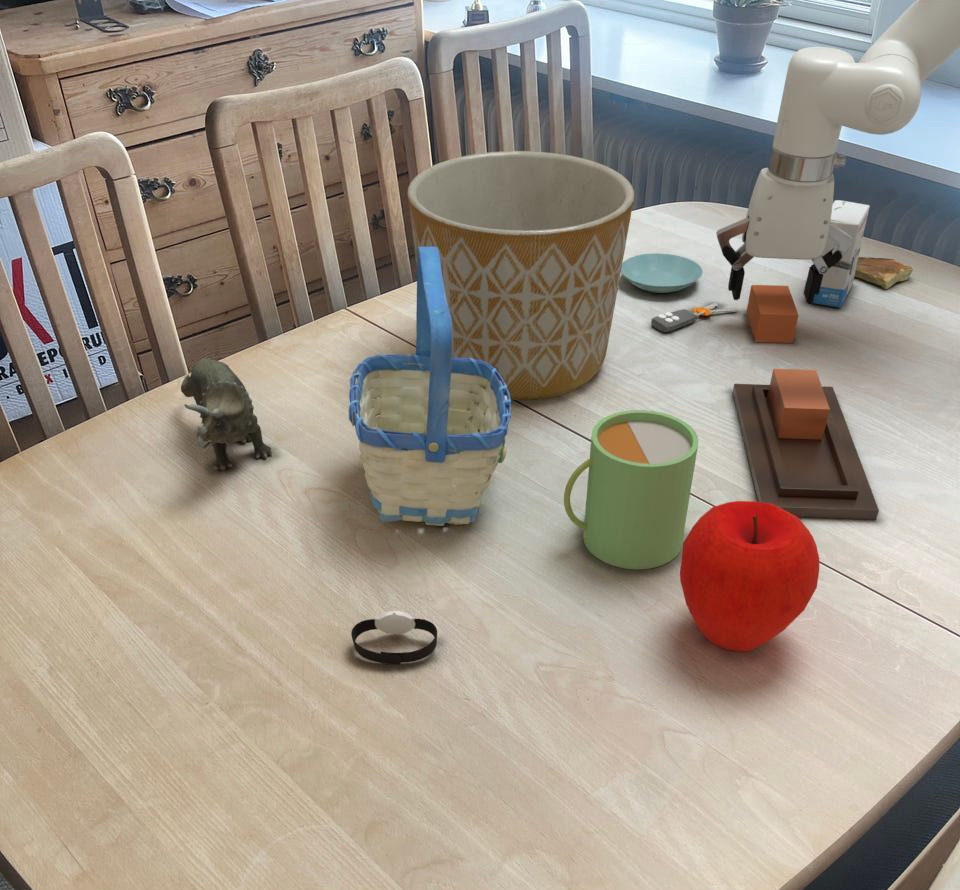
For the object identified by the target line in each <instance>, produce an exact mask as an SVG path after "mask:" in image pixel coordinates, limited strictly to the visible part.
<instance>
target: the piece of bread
mask: <svg viewBox="0 0 960 890" xmlns="http://www.w3.org/2000/svg"><path fill="white" fill-rule="evenodd" d="M913 271H914V267H913V266H911V265H909V264H906V263H903V262H900V261H897V260H895V259H894V258H884V257H883V258H882V257H870V256H869V257H866V256H859V257H858V261H857V266H856V271H855V275H854V278H859V279H861V280H863V281H866V282H868V283H872V284H875V285H877V286H879V287H881V288H883V289H884V290H889V289H890V288H891V287H892V286H894V285H895V284H896V283H899V282H905V281H907V280H909V277H910V276H911V274H912V272H913Z"/></svg>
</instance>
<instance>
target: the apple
mask: <svg viewBox="0 0 960 890" xmlns="http://www.w3.org/2000/svg"><path fill="white" fill-rule="evenodd" d="M681 551H682V552H681V559H680V571H679V578H680V579H679V580H680V586H681V588H682V589H681V590H682V592H683V596H684V600H685V605H686V606H687V608H688V611H689V613H690V615H691V618H692V619H693V621H694V623H695V625H696V626H697V627H698V629H699V630H700V632H701V633H702V635H703V636H704V637H705V638H706V639H707V640H709V642H711V643H712V644H713V645H715V646H717V647H718V648H719V647H720V648H722V649H724V650H727V651H728V650H729V651H735V652H749V651H751V650H753V649H756V648H759V647H760V646H763V645H764V644H766V643H768V642H770V641H771V640H772V639H774V638H775V637H777V636H778V635H779V634H781V633H782V632H784V631H785V630H786V629H787V628H788V627H789V626H790V625H791V624H792V623H793V622H794V621H795V620H796V619H797V618H798V617H799V616H800V615H801V614H802V613H803V612H804V611H805V609H806V608H807V606H808V604H809V602H810V601H811V599H812V597H813V595H814V593H815V592H816V590H817V588H818V582H819V574H820V559H821V558H820V555H819V551H818V545H817V543H816V541H815V539H814V536H813V535H812V533H811V531H810V530H809V528H808V527H807V526H806V525H805V524H804V523H803V522H802V520H801V519H800V517H797V516H795V515H793V514H791V513H789V512H787V511H785V510H783V509H781V508H780V507H778V506H776V505H774V504H770V503H762V502H758V501H753V500H751V501H748V500H747V501H746V500H736V501H735V500H734V501H727V502H724V503H721V504H718V505H715V506H712V507H711V508H710V509H708V510H707V511H706V512H705V513H704V514H703V515H702V516H700V517H699V519H698V520H697V521H696V522H695V523H694V524H693V526H692V527H691V529H690V531H689V533H688V534H687V536H686V538H685V539H684V540H683V542H682V549H681Z"/></svg>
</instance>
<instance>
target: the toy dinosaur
mask: <svg viewBox="0 0 960 890" xmlns="http://www.w3.org/2000/svg"><path fill="white" fill-rule="evenodd" d="M180 391H181V393H182V394H183V395H184V397H186V398H192V397H193V399H194V402H195V404H187V403H184V404H183V405H184V407H185V408H186V409H187V410H191V411H194V412H197V413H198V414H200V415H199V418H201V424H202V426H201V425H198V426H197V427H196V428H197V429H196V430H197V432H196V439H197V445H198V448H199V449H200V450H202V451H207V450H208V449H210V448H211V447H213V450H214V451H213V452H214V454H215V459H216V460H215V462H214V463H213V464H212V466H213V469H214V471H217V470H221V471H225V470H226V468H233V464H232V462H231V460H230V459H229V456H228V453H227V447H228V444H230V445H231V444H234V443H237V442H239V441H240V443H242V444H246V443H247V441H251V442H252V445H253V450H254V456H255V458H256V459H259V458H261V457H262V458H264V459H267V458H268V456H269V455H270V456H271V455H273V451H272V447H270V446H268V445H266V444H265V443H264V441H263V434H262V429H261V426H260V424H258V417H257V415H255V414H254V410H255V406H254V405H253V399H252V398H251V397H250V393H249V392H248V391H247V389H246V387H245V385H244V384H243V382H242V380H241V379H240V378H239V376H238V375H237V374H236V373H234V371H233V370H232V369H231V368H230V366H229V365H228V364H226V363H225V362H223V361H221V360H216V359H212V358H203V357H202V358H201V359H199V360H198V361H197V362H195V364H193V366H192V369H191V372H190V375H189V374H187V375H185V377H184V379H182V383H181V385H180Z"/></svg>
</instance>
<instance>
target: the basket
mask: <svg viewBox="0 0 960 890" xmlns="http://www.w3.org/2000/svg"><path fill="white" fill-rule="evenodd" d="M415 314H416V315H415V316H416V319H415V320H416V323H415V324H416V325H415V326H416V329H415V330H416V332H415V335H416V336H415V353H411V354H401V353H400V354H399V353H391V354H388V353H386V354H382V353H380V354H376V355H373V356H369V357H366V358H364V359H362V361H361V362H359V363H358V364H357V366H356V367H355V369H354V370H353V372H352V374H351V376H350V378H349V379H350V380H349V385H350V388H349V392H348V393H349V394H348V398H349V404H348V405H349V406H348V420H349V422H350V423H351V426H352V427H354V430H355V434H356V437H357V439H358V441H359V444H358V445H359V451H360V453H361V454H360V456H359V459H360V463H362V467H363V470H364V471H365V472H364V477H365V481H366V484H367V486H368V488H369V493H370V499H371V500H370V501H371V504H372V506H373V507H374V508H375V509H376V511H377V513H378V516H379V517H378V519H379V520H380V521H381V522H398V521H400V520H401V521H403V522H419V523H421V522H424V523H425V525H428V526H439V527H444V526H445V524H451V525H457V526H458V525H469V524H470V523H473V522H475V521H476V519H477V517H478V515H479V512H480V505H481V504H482V501H483V497H484V492H485V491H486V490H487V489H488V488H489V487H490V484H491V480H492V476H493V474H494V472H495V471H496V468H497V466H498V464H502V463H503V462H504V461H505V459H506V456H507V452H508V451H507V449H508V448H507V446H506V436H507V435H508V428H509V423H510V420H511V417H512V404H511V403H512V400H511V399H510V393H509V392H508V389H507V385H506V384H505V382H504V380H503V378H502V377H501V375H500V374H499V373H498V372H497V370H496V368H493V367H492V366H491V365H490V364H488V363H486V362H484V361H481V360H474V359H472V358H454V357H452V348H453V333H452V319H451V315H450V311H449V308H448V304H447V299H446V295H445V290H444V284H443V277H442V270H441V264H440V257H439V252H438V248H437V247H418V251H417V265H416V313H415ZM480 376H481V377H480ZM480 385H481V386H483V387H486V388H485V389H483V387H481V386H480ZM470 392H473V393H470ZM475 393H476V394H475ZM477 394H478V395H477Z"/></svg>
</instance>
